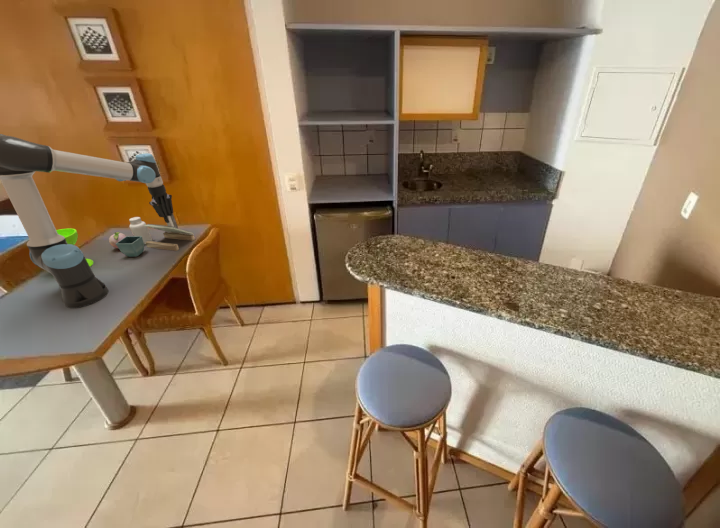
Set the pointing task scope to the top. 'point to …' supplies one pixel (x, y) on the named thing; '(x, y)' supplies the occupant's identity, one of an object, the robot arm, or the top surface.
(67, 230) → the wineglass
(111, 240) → the decorative fruit
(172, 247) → the tan wooden pieces
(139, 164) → the robot arm
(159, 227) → the panel
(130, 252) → the flower pot
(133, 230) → the pill bottle
